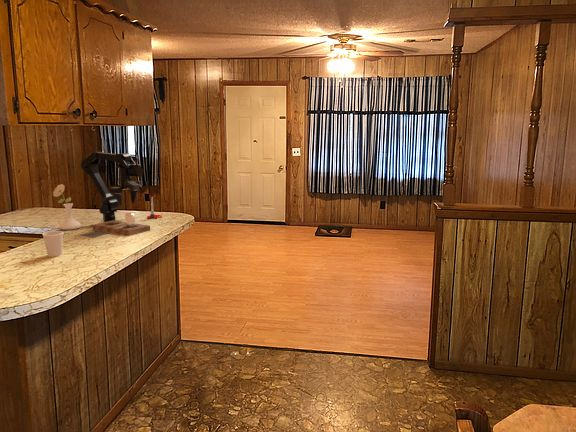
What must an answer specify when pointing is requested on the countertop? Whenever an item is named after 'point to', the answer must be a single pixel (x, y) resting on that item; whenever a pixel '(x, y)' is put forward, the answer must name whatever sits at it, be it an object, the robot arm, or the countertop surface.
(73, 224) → the flower in vase
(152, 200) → the tow hook
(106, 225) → the hole block
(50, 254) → the dixie cup
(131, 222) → the steel peg
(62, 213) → the countertop surface
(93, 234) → the rubber mat
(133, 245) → the countertop surface
